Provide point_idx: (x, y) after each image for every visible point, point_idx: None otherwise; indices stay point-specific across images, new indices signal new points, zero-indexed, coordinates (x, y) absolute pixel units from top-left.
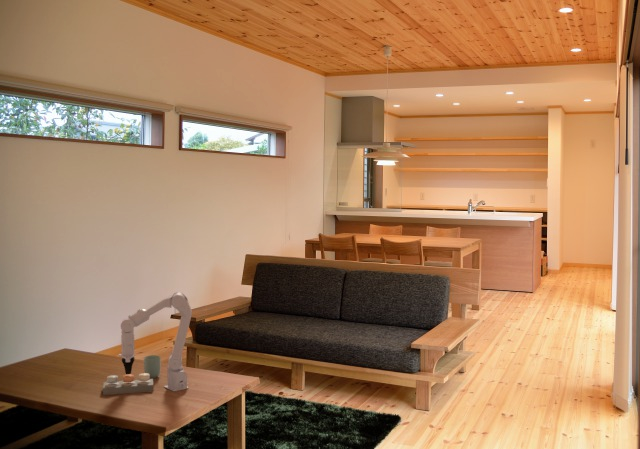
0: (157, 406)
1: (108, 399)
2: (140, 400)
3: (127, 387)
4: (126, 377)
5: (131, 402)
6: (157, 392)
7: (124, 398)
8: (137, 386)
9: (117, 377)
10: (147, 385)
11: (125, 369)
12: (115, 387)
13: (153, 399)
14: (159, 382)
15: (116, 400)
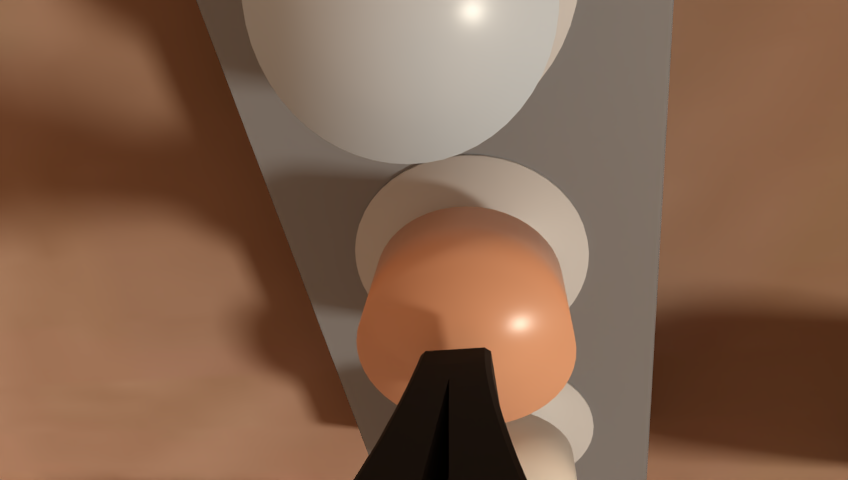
0: (11, 459)
1: (18, 4)
2: (106, 355)
3: (301, 259)
4: (358, 330)
5: (22, 291)
6: (361, 457)
7: (122, 208)
8: (338, 367)
9: (377, 155)
10: (368, 453)
11: (382, 449)
12: (233, 91)
13: (162, 436)
14: (710, 468)
15: (21, 128)
